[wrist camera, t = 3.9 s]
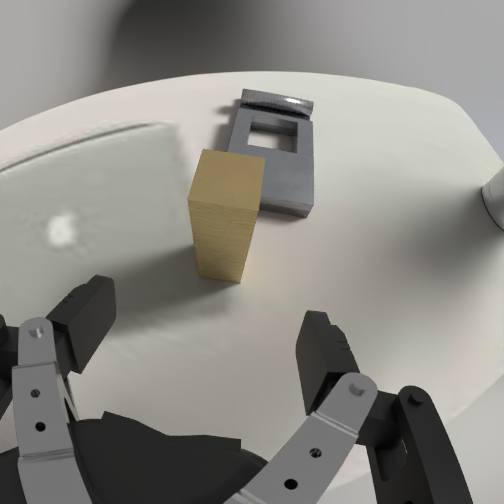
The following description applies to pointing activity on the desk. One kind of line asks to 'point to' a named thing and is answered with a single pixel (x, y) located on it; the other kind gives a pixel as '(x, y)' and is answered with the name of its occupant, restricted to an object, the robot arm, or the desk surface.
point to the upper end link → (280, 163)
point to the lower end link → (276, 109)
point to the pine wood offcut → (224, 211)
